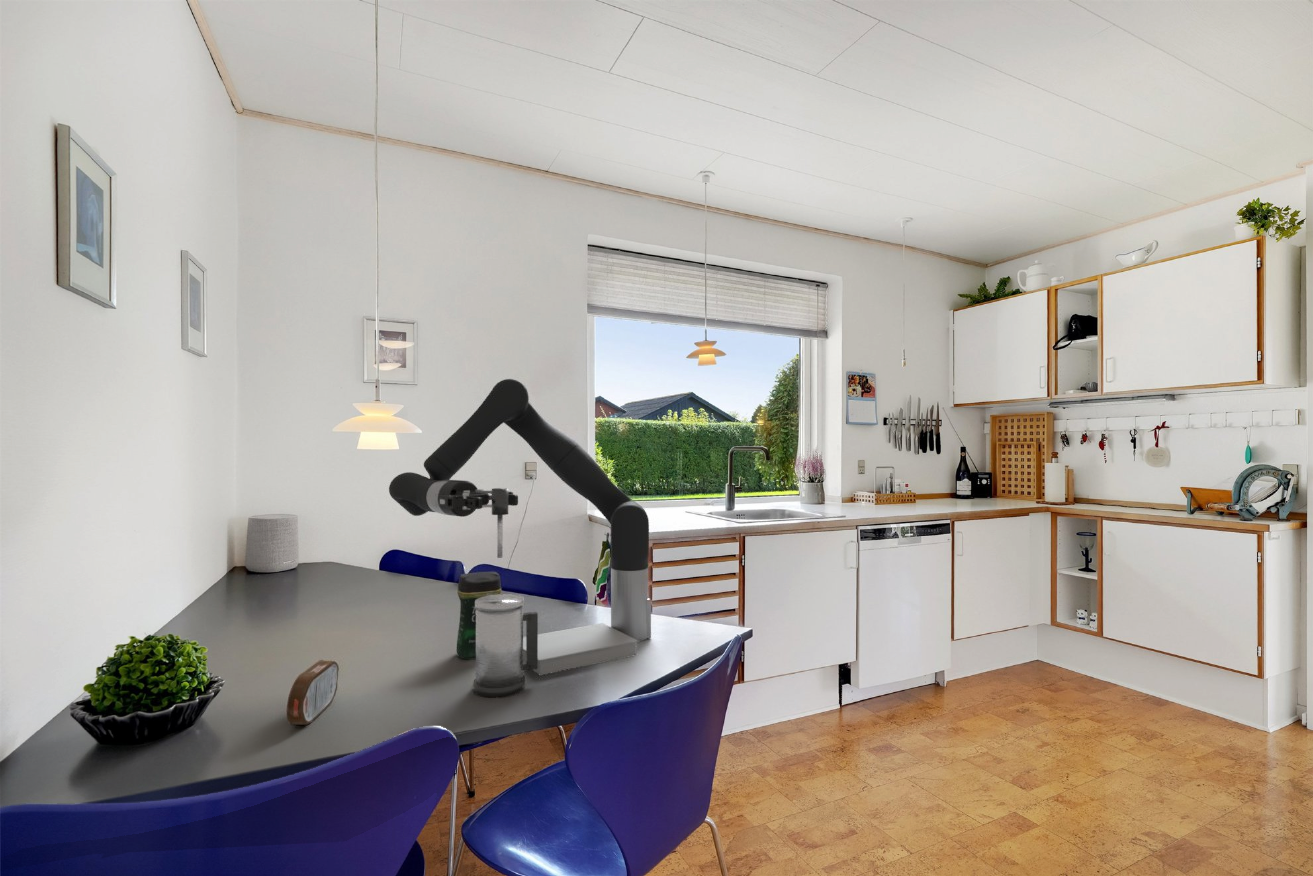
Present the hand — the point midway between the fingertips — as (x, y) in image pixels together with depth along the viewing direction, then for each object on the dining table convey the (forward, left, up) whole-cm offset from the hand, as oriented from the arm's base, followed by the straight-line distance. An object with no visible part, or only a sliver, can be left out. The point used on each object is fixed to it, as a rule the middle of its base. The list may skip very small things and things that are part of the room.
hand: (499, 501), depth 124 cm
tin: (+32, +1, -37) cm, 49 cm away
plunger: (0, 0, -11) cm, 11 cm away
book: (-18, -15, -37) cm, 44 cm away
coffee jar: (+2, -22, -37) cm, 43 cm away
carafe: (-1, 0, -36) cm, 36 cm away
